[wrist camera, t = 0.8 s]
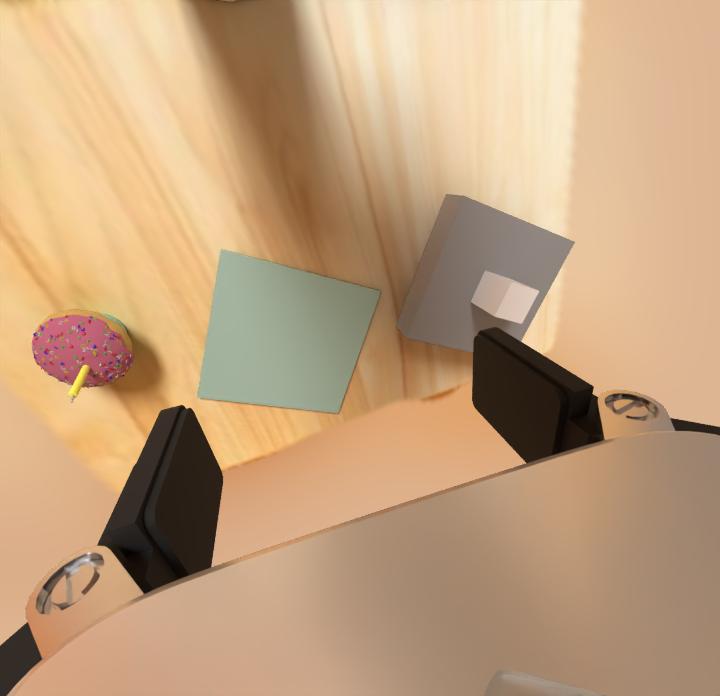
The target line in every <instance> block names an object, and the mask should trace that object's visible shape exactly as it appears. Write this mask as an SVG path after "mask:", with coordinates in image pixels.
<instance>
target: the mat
mask: <svg viewBox="0 0 720 696" xmlns="http://www.w3.org/2000/svg"><path fill="white" fill-rule="evenodd" d="M380 294H381V291H379V290H375V289H372V288H368V287H364V286H360V285H356V284H353V283H349V282H345V281H341V280H337V279H334V278H330V277H326V276H322V275H318V274H315V273H311V272H307V271H303V270H299V269H296V268H292V267H288V266H284V265H280V264H276V263H273V262H269V261H265V260H261V259H257V258H254V257H250V256H246V255H242V254H238V253H235V252H231V251H227V250H223V249H221V253H220V259H219V265H218V271H217V278H216V284H215V290H214V296H213V302H212V309H211V315H210V321H209V327H208V334H207V340H206V346H205V352H204V358H203V365H202V371H201V377H200V383H199V389H198V396H197V398H205V399H214V400H222V401H231V402H240V403H249V404H258V405H267V406H276V407H285V408H294V409H302V410H311V411H320V412H329V413H339V410H340V407H341V404H342V401H343V399H344V396H345V393H346V390H347V387H348V384H349V382H350V379H351V376H352V373H353V370H354V367H355V365H356V362H357V359H358V356H359V353H360V350H361V348H362V345H363V342H364V339H365V336H366V333H367V331H368V328H369V325H370V322H371V319H372V316H373V314H374V311H375V308H376V305H377V302H378V299H379V297H380Z"/></svg>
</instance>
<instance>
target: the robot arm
mask: <svg viewBox="0 0 720 696" xmlns="http://www.w3.org/2000/svg"><path fill="white" fill-rule="evenodd" d="M221 1H237V0H221ZM472 387H473V388H472V401H473V404H474V407H475V408H476V409H477V410H478V412H479V413H480V414H481V415H482V416H483V417H484V418H485V419H486V420H487V421H488V422H489V423H490V425H492V427H493V428H494V429H495V430H496V431H497V432H498V433H499V434H500V435H501V436H502V437H503V438H504V439H505V441H506V442H507V443H508V444H509V445H510V446H511V447H512V448H513V449H514V450H515V451H516V452H517V453H518V454H519V456H520V457H521V458H522V459H523V460H525V462H526V464H523V465H520V466H517V467H514V468H511V469H507V470H504V471H501V472H498V473H495V474H492V475H489V476H486V477H482V478H479V479H476V480H473V481H470V482H467V483H464V484H461V485H457V486H454V487H451V488H449V489H445V490H442V491H439V492H436V493H433V494H430V495H427V496H424V497H421V498H417V499H415V500H411V501H408V502H405V503H402V504H399V505H396V506H393V507H390V508H387V509H384V510H381V511H378V512H375V513H372V514H368V515H365V516H362V517H360V518H356V519H354V520H350V521H347V522H344V523H341V524H338V525H336V526H332V527H330V528H326V529H323V530H320V531H317V532H314V533H311V534H308V535H305V536H302V537H300V538H296V539H293V540H290V541H287V542H284V543H281V544H278V545H275V546H272V547H269V548H266V549H263V550H260V551H257V552H254V553H251V554H249V555H246V556H243V557H240V558H237V559H234V560H231V561H229V562H226V563H223V564H220V565H217V566H214V567H211V564H212V557H213V550H214V542H215V536H216V529H217V521H218V514H219V507H220V500H221V493H222V486H223V475H222V471H221V469H220V467H219V465H218V463H217V460H216V458H215V456H214V454H213V452H212V450H211V448H210V445H209V443H208V441H207V439H206V437H205V435H204V433H203V430H202V428H201V426H200V424H199V422H198V420H197V418H196V415H195V413H194V411H193V410H192V409H191V408H188V409H186V408H185V407H184V406H183V405H180V406H176V407H172V408H168V409H164V410H161V412H160V413H159V415H158V417H157V420H156V422H155V424H154V426H153V428H152V431H151V433H150V435H149V437H148V439H147V441H146V444H145V446H144V448H143V450H142V452H141V455H140V457H139V459H138V461H137V463H136V464H135V466H134V467H133V469H132V471H131V473H130V476H129V478H128V480H127V482H126V484H125V486H124V489H123V491H122V493H121V495H120V497H119V499H118V502H117V504H116V506H115V508H114V510H113V512H112V514H111V517H110V519H109V521H108V523H107V525H106V528H105V530H104V532H103V534H102V536H101V538H100V540H99V543H98V545H97V546H92V547H88V548H85V549H82V550H80V551H78V552H76V553H74V554H72V555H71V556H69V557H67V558H66V559H64V560H63V561H62V562H60V563H59V564H58V565H57V566H55V567H54V568H53V569H52V570H51V571H49V572H48V573H47V574H46V576H45V577H44V578H43V579H42V580H41V581H40V582H39V583H38V585H37V586H36V588H35V589H34V591H33V592H32V594H31V595H30V597H29V600H28V603H27V606H26V619H27V621H28V622H27V623H26V624H25V625H24V626H23V627H21V628H20V629H19V630H18V631H17V632H16V633H15V634H13V635H12V636H11V637H10V638H9V639H7V640H6V641H5V642H4V643H3V644H2V645H1V646H0V696H720V427H716V426H711V425H705V424H700V423H695V422H689V421H684V420H678V419H672V418H670V417H669V415H668V413H667V411H666V409H665V408H664V406H663V405H662V404H660V403H659V402H658V401H656V400H654V399H653V398H651V397H649V396H646V395H643V394H640V393H637V392H632V391H627V390H612V391H606V392H604V393H602V394H601V395H600V396H599V397H597V396H595V395H593V394H592V393H593V388H594V387H593V386H592V385H590V384H589V383H587V382H585V381H584V380H582V379H580V378H579V377H577V376H576V375H574V374H572V373H571V372H569V371H567V370H566V369H564V368H563V367H561V366H559V365H558V364H556V363H555V362H553V361H551V360H550V359H548V358H547V357H545V356H543V355H542V354H540V353H538V352H537V351H535V350H534V349H532V348H530V347H529V346H527V345H525V344H524V343H522V342H521V341H519V340H517V339H516V338H514V337H513V336H511V335H509V334H508V333H506V332H504V331H503V330H501V329H500V328H498V327H492V328H488V329H484V330H480V331H479V332H478V334H477V336H475V337H474V341H473V386H472Z"/></svg>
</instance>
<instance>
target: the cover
mask: <svg viewBox="0 0 720 696" xmlns="http://www.w3.org/2000/svg"><path fill="white" fill-rule="evenodd" d="M574 243H575V242H574V241H571V240H569V239H566V238H564V237H562V236H559V235H557V234H554V233H552V232H550V231H547V230H545V229H542V228H540V227H537V226H535V225H533V224H530V223H528V222H525V221H523V220H521V219H518V218H516V217H513V216H511V215H509V214H506V213H504V212H501V211H499V210H496V209H494V208H492V207H489V206H487V205H484V204H482V203H480V202H477V201H475V200H472V199H470V198H468V197H465V196H459V195H450V194H446V196H445V199H444V201H443V204H442V206H441V209H440V212H439V214H438V217H437V219H436V222H435V225H434V227H433V230H432V232H431V235H430V238H429V240H428V243H427V245H426V248H425V251H424V253H423V256H422V258H421V261H420V264H419V266H418V269H417V272H416V274H415V277H414V279H413V282H412V285H411V287H410V290H409V292H408V295H407V298H406V300H405V303H404V305H403V308H402V311H401V313H400V316H399V318H398V321H397V324H396V327H397V328H398V329H399V330H400V332H401V333H402V334H403V335H404V336H405V337H406V338H407V339H411V340H416V341H421V342H425V343H430V344H435V345H439V346H444V347H449V348H454V349H458V350H463V351H468V352H472V353H473V341H474V337H475V336H477V334H478V332H479V331H480V330H484V329H488V328H492V327H498V328H500V329H501V330H503V331H504V332H506V333H508V334H509V335H511V336H513V337H514V338H516V339H517V340H519V341H521V340H522V338H523V336H524V335H525V333H526V331H527V329H528V327H529V325H530V324H531V322H532V320H533V318H534V316H535V314H536V313H537V311H538V309H539V307H540V305H541V303H542V302H543V300H544V298H545V296H546V294H547V292H548V291H549V289H550V287H551V285H552V283H553V281H554V280H555V278H556V276H557V274H558V272H559V270H560V268H561V267H562V265H563V263H564V261H565V259H566V257H567V256H568V254H569V252H570V250H571V248H572V246H573V245H574Z"/></svg>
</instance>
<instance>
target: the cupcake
mask: <svg viewBox="0 0 720 696" xmlns="http://www.w3.org/2000/svg"><path fill="white" fill-rule="evenodd" d="M33 335H34V338H33V340H32V350H33V354H34V358H35V361H36V363H37V364H38V365H40V366H41V369H42V368H43V369H44V371H45V372H46V373H47V374H48V375H50V376H51V375H52V376H53V377H55V378H57V379H58V381H59V382H61V381H62V382H65V383H68V385H73V386H72V388H71V390H70V392H69V394H68V396H69V397H70V398H71V399H70V402H71V403H72V402H73V399H74V398H75V397H77V395H78V393H79V391H80V389H81V387H82V386H83V388H84V387H87V388H89V387H96V386H103V385H107V384H109V383H111V382H112V383H113V382H114V381H115V380H117V379H118V378H120V377H122V375H123V376H124V374H125V373H126V372H127V370H128V369H129V368H130V367H131V365H132V363H133V347H132V341H131V339H130V337H129V336H128V335H127V331H126V328H125V327H124V325H123V324H122V323H121V322H120V321H119V320H117V319H116V318H114V317H112V316H109V315H106V314H100V313H97V312H92V311H85V310H79V309H69V310H66V311H63V312H59V313H56V314H53V315H51V316H49V317H48V318H46V319H45V320H44V321H43V322H42V323H41V324H40V325H39V326H38V328H37V330H36V332H35V333H34V334H33Z"/></svg>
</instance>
